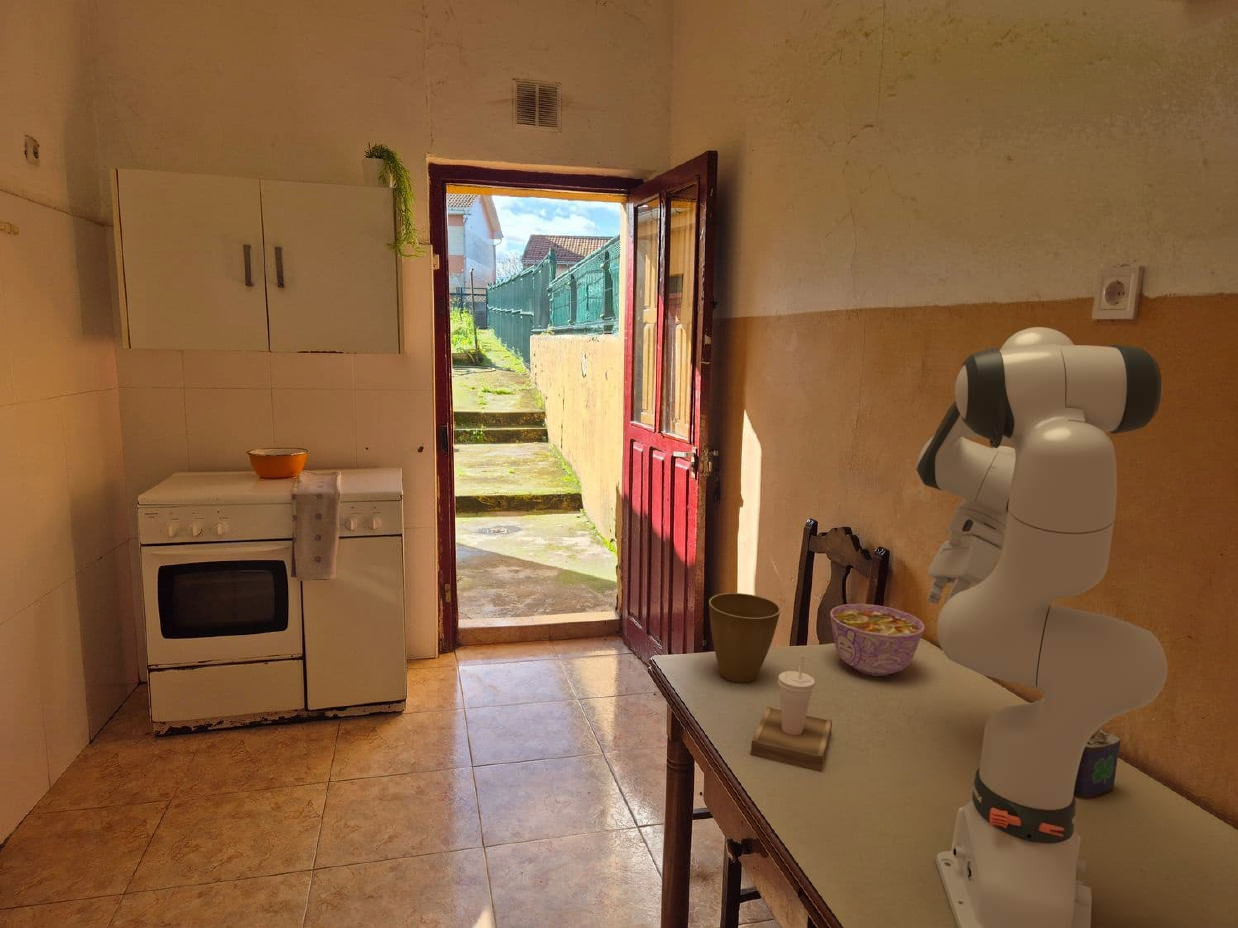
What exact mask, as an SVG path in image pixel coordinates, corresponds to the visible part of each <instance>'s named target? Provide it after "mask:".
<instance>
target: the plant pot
mask: <svg viewBox="0 0 1238 928" xmlns="http://www.w3.org/2000/svg"><path fill="white" fill-rule="evenodd" d="M708 608H709V622H710V623H709V624H710V631H711V636H712V637H711V638H712V642H713V643H712V644H713V647H714V653H715V657H716V660H717V664H718V669H719V671H720V674H721V676H722V677H723V678H724V679H726V680H728V681H730V682H734V683H741V684H744V683H745V684H746V683H750V682H753V681H755V680H756V678H757V676H758V674H759V673H760V670H761V668H762V667H763V665H764V662H765V660H766V657H767V656H768V653H769V650H770V647H771V644H772V642H773V639H774V636H775V632H776V630H777V626H778V621H779V618H780V613H781V606H780V605H779V604H778V603H776V602H775V601H773V600H771V599H769V598H765V597H762V596H758V595H754V594H750V593H749V594H748V593H740V592H725V593H719V594H716V595H714V596H712V597H710V598H709V600H708Z"/></svg>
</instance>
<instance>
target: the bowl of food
mask: <svg viewBox="0 0 1238 928" xmlns="http://www.w3.org/2000/svg"><path fill="white" fill-rule="evenodd" d="M829 616H830V622H831V628H832V629H831V630H832V635H833V636H832V637H833V641H834V646H835V647H834V648H835V650H836V652H837V654H838V656H839V658H840V659H841V660H842V661H843V662H845V663H846V664H847V665H849V666H850V667H853V669H854V670H855V671H857V672H859V673H861V674H864V675H867V676H873V677H874V676H875V677H884V676H888V675H889V674H891V675H892V674H895V673H899V672H901V671H903V670H904V669H906V668H907V667H908V666H909V665H910V664H911V663H912V660H913V658H914V656H915V654H916V652H917V650H918V646H919V644H920V641H921V638H922V636H923V632H924V630H925V627H926V626H925V624H924V622H923V621H922V620H920V619H919V618H917V616H915V615H913V614H910V613H908V612H905V611H903V610H898V609H895V608H892V607H888V606H884V605H883V606H882V605H877V604H870V603H869V604H867V603H848V604H842V605H838V606H835V607H833V608H832V609H831V610H830V612H829Z"/></svg>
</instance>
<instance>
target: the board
mask: <svg viewBox="0 0 1238 928" xmlns="http://www.w3.org/2000/svg"><path fill="white" fill-rule="evenodd" d="M832 727H833V720H832V719H828V718H827V719H823V718H820V717H815V716H809V715H806V719H805V723H804V728H803V732H802V733H801V734H798V735H792V734H788V733H786V732H784V731H783V730H782V727H781V709H777V708H773V707H771V706H767V707H766V709H765V711H764V713H763V715H762V717H761V720H760V722H759V724H758V727H757V729H756V731H755V733H754V736H753V738H752V740H751V744H750V745H751V747H750V755H751V756H755V757H759V758H763V759H767V760H771V761H776V762H781V763H785V764H789V765H793V766H797V767H801V768H805V769H810V770H814V771H818V772H822V771H823V767H824V764H825V760H826V755H827V751H828V747H829V744H830V743H829V742H830V741H831V740H830V739H831V736H832V730H833V729H832Z"/></svg>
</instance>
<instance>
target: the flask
mask: <svg viewBox="0 0 1238 928" xmlns="http://www.w3.org/2000/svg"><path fill="white" fill-rule="evenodd" d="M1097 732H1098V734H1096V735H1095V736H1094V738H1090V739H1089V741H1088V743H1087V744H1086V746H1085V748H1084V751H1083V754H1082V757H1081V761H1080V764H1079V768H1078V772H1077V777H1076V782H1075V788H1074V794H1073V795H1074V796H1075V799H1081V800H1089V799H1094V798H1098V797H1101V796H1104V795H1107V794H1108V793H1111V792H1112V791H1113V789H1114V786H1115V779H1116V773H1117V771H1116V770H1117V766H1118V759H1119V753H1120V746H1121V738H1119V737H1118V736H1116V735H1114V734H1110V733H1107V732H1106V731H1103V730H1102V729H1100V728H1099V729H1098V730H1097Z"/></svg>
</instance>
